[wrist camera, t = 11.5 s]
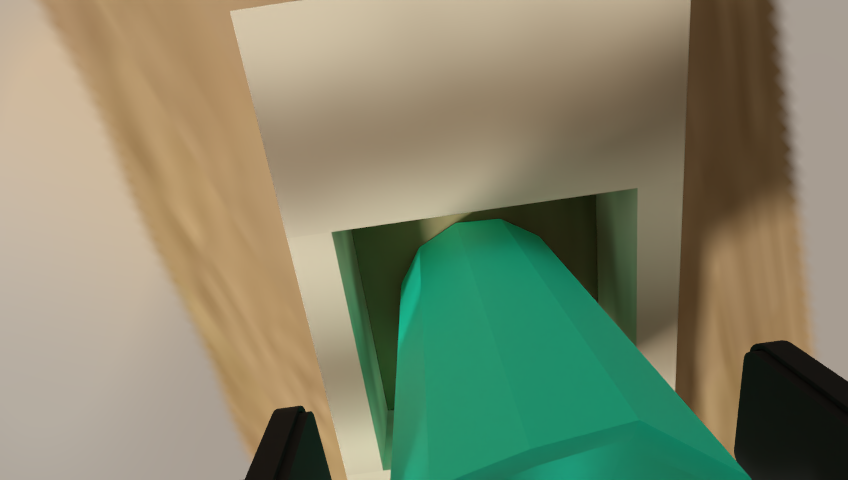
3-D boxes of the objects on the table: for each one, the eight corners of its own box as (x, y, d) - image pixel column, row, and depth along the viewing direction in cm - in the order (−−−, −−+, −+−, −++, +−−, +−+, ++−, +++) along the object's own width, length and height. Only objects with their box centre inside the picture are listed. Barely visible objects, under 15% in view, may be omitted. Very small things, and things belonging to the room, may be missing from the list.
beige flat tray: (268, 28, 14) (229, 10, 11) (633, -29, 13) (693, -61, 10) (381, 521, 20) (376, 593, 17) (631, 489, 20) (668, 557, 17)
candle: (597, 285, 17) (1007, 716, 5) (487, 393, 18) (619, 923, 6) (475, 182, 15) (665, 453, 4) (367, 306, 17) (268, 781, 5)
